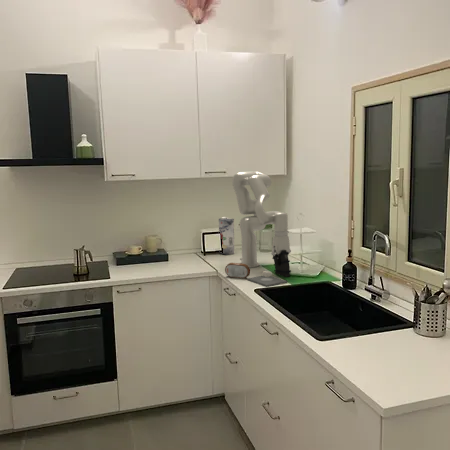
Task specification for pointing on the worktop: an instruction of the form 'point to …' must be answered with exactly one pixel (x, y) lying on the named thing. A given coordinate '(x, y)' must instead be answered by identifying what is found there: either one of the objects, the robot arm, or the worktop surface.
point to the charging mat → (267, 279)
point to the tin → (237, 270)
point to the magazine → (282, 265)
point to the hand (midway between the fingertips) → (281, 264)
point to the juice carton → (227, 235)
